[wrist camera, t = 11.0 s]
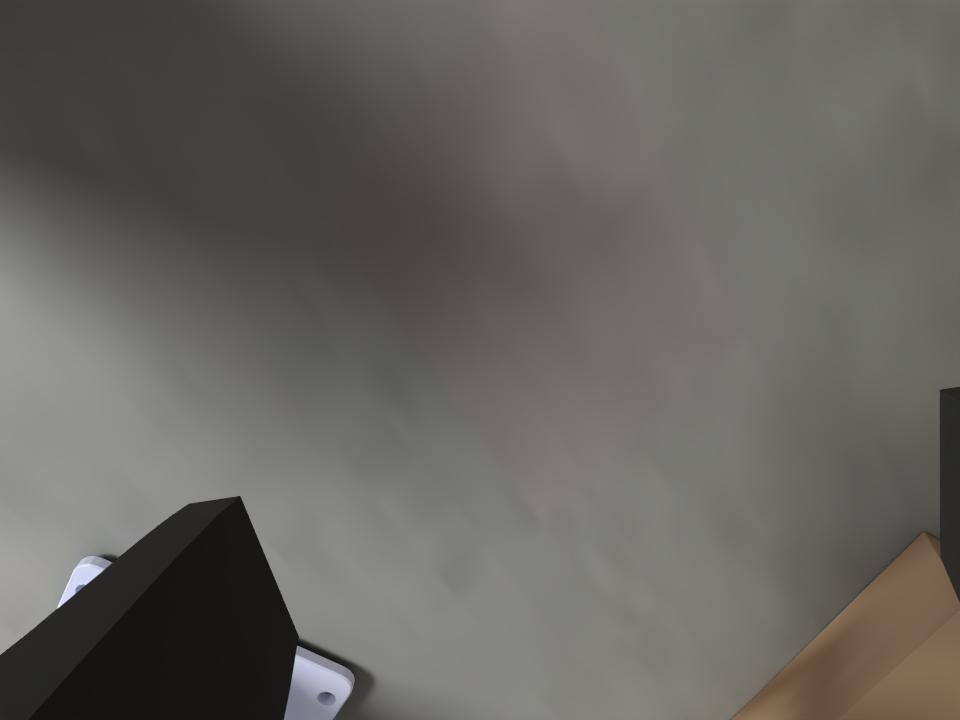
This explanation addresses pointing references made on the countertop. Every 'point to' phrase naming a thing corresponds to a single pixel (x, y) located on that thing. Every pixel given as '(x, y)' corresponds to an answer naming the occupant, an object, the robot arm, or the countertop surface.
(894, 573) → the walnut base
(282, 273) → the countertop surface
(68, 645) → the robot arm
